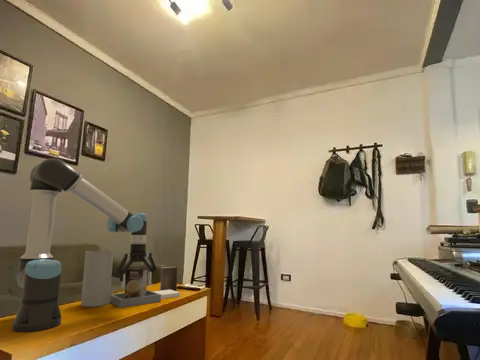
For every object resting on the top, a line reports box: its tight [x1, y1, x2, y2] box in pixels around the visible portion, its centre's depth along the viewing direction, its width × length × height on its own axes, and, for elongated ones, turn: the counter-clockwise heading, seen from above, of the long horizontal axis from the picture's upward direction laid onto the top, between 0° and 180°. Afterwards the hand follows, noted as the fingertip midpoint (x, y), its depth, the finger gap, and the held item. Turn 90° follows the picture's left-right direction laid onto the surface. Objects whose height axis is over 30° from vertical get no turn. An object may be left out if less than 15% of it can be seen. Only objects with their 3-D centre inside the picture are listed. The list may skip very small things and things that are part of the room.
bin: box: [109, 289, 162, 309], centre depth 153 cm, size 20×16×4 cm
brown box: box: [159, 264, 178, 291], centre depth 185 cm, size 10×10×15 cm
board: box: [152, 290, 181, 300], centre depth 167 cm, size 12×12×2 cm
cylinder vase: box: [80, 250, 114, 308], centre depth 149 cm, size 12×12×25 cm
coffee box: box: [124, 267, 149, 299], centre depth 154 cm, size 9×6×16 cm
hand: (136, 286), depth 154 cm, fingers open, 13 cm apart
